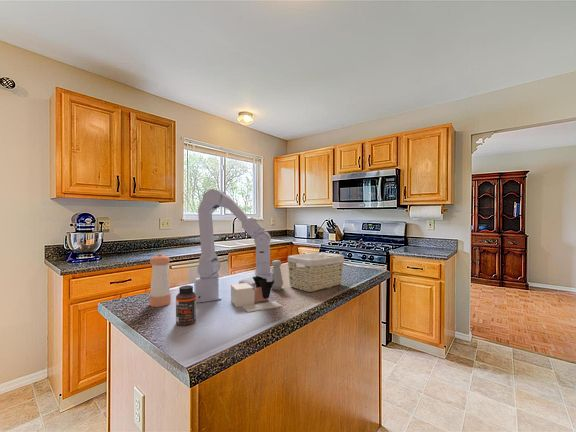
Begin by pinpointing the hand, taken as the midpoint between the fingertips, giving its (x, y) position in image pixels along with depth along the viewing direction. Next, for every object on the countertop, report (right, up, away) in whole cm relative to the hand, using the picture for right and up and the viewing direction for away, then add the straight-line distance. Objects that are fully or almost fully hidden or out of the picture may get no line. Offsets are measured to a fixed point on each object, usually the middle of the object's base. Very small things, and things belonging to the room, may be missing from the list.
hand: (263, 296), depth 109 cm
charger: (-8, -2, +16) cm, 18 cm away
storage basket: (+23, -2, +21) cm, 31 cm away
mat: (0, -2, -9) cm, 9 cm away
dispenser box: (-8, -2, -4) cm, 9 cm away
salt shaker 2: (+5, -2, +16) cm, 16 cm away
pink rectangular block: (-4, -2, -2) cm, 4 cm away
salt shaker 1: (-39, -2, -4) cm, 39 cm away
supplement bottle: (-22, -2, -23) cm, 32 cm away
